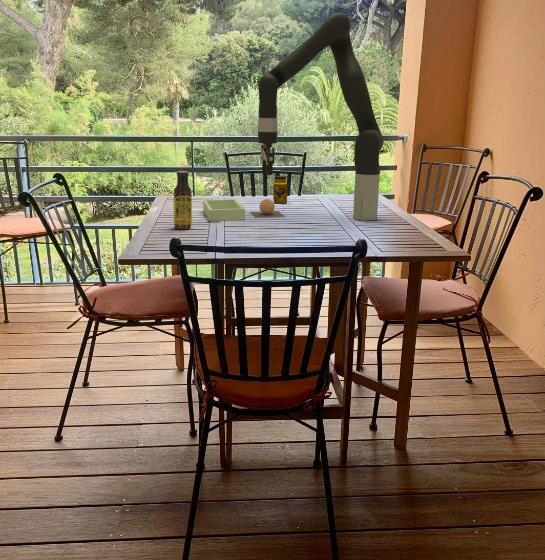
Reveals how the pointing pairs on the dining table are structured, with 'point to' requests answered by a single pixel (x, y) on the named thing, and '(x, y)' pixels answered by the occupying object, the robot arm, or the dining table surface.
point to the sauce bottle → (182, 202)
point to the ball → (267, 206)
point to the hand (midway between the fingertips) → (267, 173)
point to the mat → (273, 214)
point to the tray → (223, 210)
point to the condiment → (280, 190)
